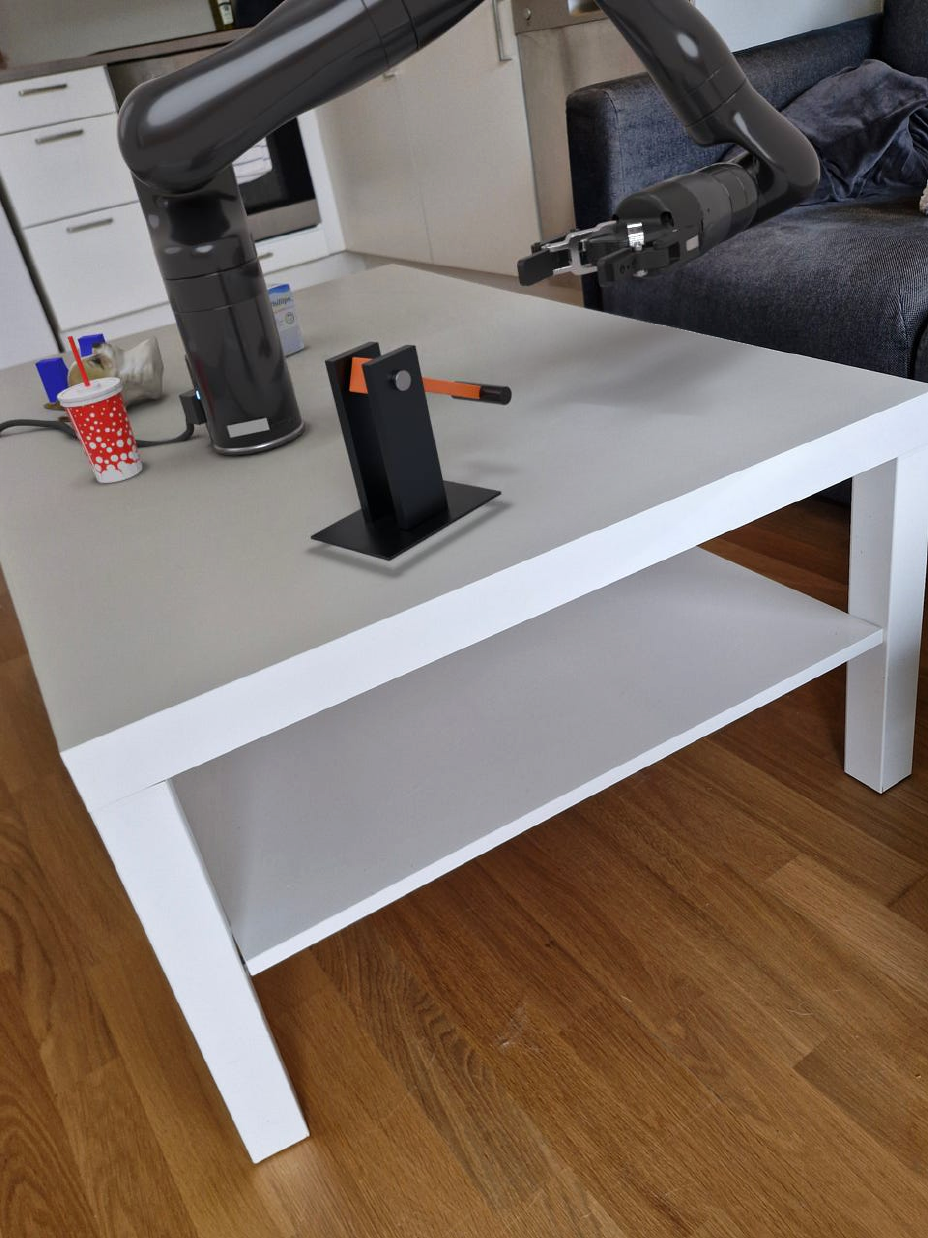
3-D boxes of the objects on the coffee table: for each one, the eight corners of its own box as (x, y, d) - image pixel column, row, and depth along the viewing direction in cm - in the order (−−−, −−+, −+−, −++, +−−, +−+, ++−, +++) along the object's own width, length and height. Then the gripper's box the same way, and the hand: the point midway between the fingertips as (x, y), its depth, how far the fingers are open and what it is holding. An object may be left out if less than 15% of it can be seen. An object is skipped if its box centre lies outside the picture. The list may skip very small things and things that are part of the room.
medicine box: (243, 356, 139) (225, 291, 135) (268, 346, 142) (251, 281, 137) (281, 359, 134) (262, 291, 130) (306, 348, 137) (289, 281, 132)
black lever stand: (424, 489, 86) (388, 324, 79) (504, 506, 80) (473, 329, 73) (314, 551, 79) (265, 376, 73) (392, 574, 73) (347, 386, 67)
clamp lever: (459, 405, 84) (463, 375, 84) (510, 412, 81) (514, 380, 80) (334, 389, 75) (337, 355, 74) (384, 395, 71) (388, 360, 71)
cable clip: (89, 380, 143) (73, 337, 140) (117, 376, 142) (102, 333, 139) (42, 410, 133) (24, 364, 130) (72, 406, 132) (55, 360, 129)
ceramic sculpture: (161, 326, 120) (36, 373, 115) (189, 397, 125) (69, 444, 119) (139, 317, 129) (21, 360, 124) (165, 383, 133) (52, 427, 128)
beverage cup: (161, 465, 104) (114, 327, 98) (108, 489, 101) (55, 348, 94) (130, 458, 108) (83, 325, 102) (78, 481, 105) (25, 345, 98)
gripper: (603, 184, 97) (489, 229, 88) (738, 175, 88) (625, 224, 79) (613, 266, 101) (503, 317, 92) (743, 265, 91) (636, 322, 82)
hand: (560, 274), depth 85 cm, fingers open, 8 cm apart
